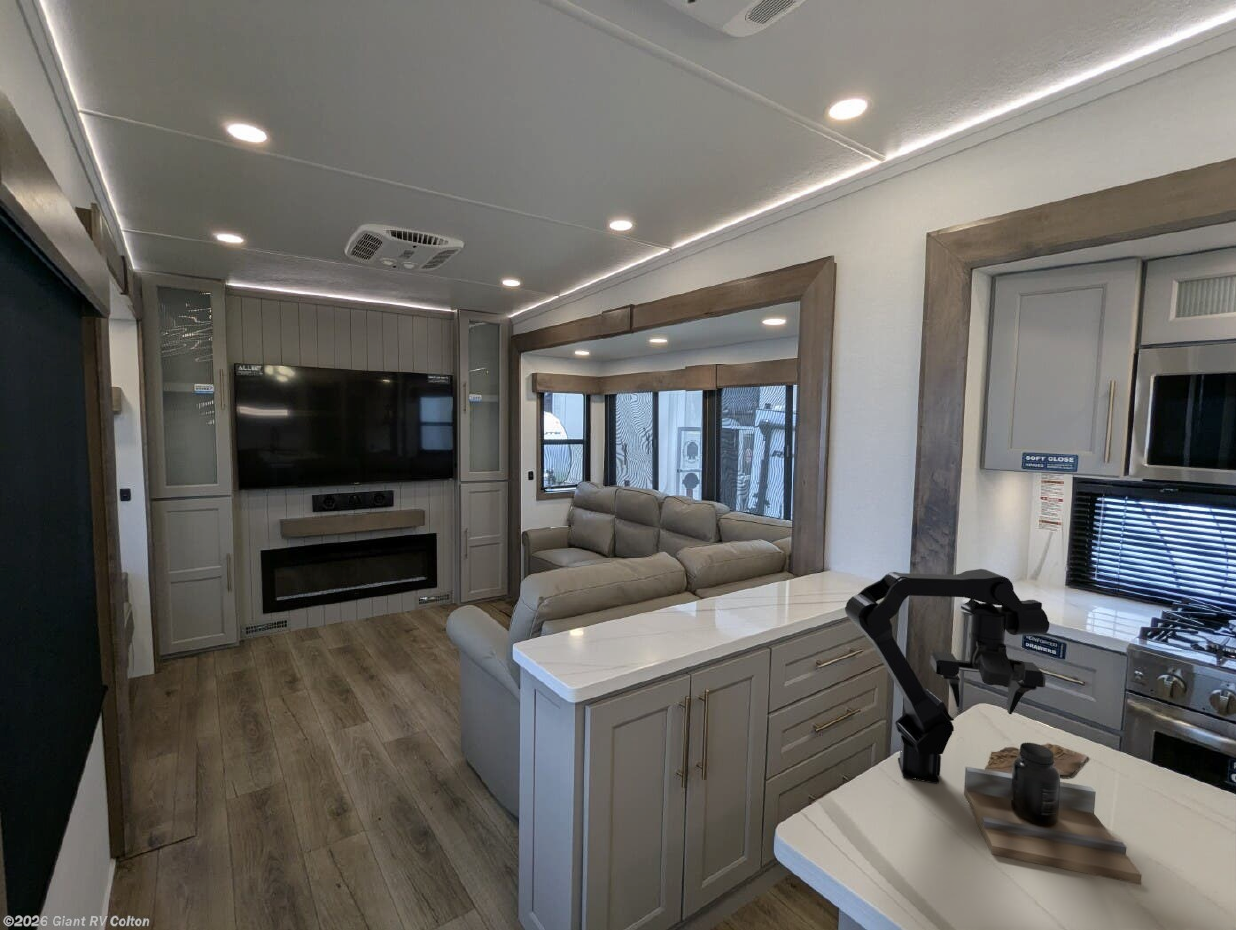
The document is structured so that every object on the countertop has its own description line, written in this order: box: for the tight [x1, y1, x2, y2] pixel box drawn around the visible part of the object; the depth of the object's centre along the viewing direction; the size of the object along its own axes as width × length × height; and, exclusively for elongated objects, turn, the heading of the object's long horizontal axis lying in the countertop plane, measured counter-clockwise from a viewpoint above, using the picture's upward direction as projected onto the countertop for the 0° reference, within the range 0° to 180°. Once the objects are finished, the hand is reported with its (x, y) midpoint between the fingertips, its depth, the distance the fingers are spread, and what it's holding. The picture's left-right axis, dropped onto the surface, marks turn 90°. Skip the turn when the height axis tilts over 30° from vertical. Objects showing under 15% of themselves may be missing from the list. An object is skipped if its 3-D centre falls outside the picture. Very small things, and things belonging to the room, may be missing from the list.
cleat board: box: [963, 766, 1142, 885], centre depth 98 cm, size 20×16×6 cm
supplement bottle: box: [1011, 742, 1061, 827], centre depth 101 cm, size 7×7×12 cm
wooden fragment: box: [984, 742, 1090, 777], centre depth 119 cm, size 26×11×1 cm, turn 100°
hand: (983, 709), depth 115 cm, fingers open, 9 cm apart
